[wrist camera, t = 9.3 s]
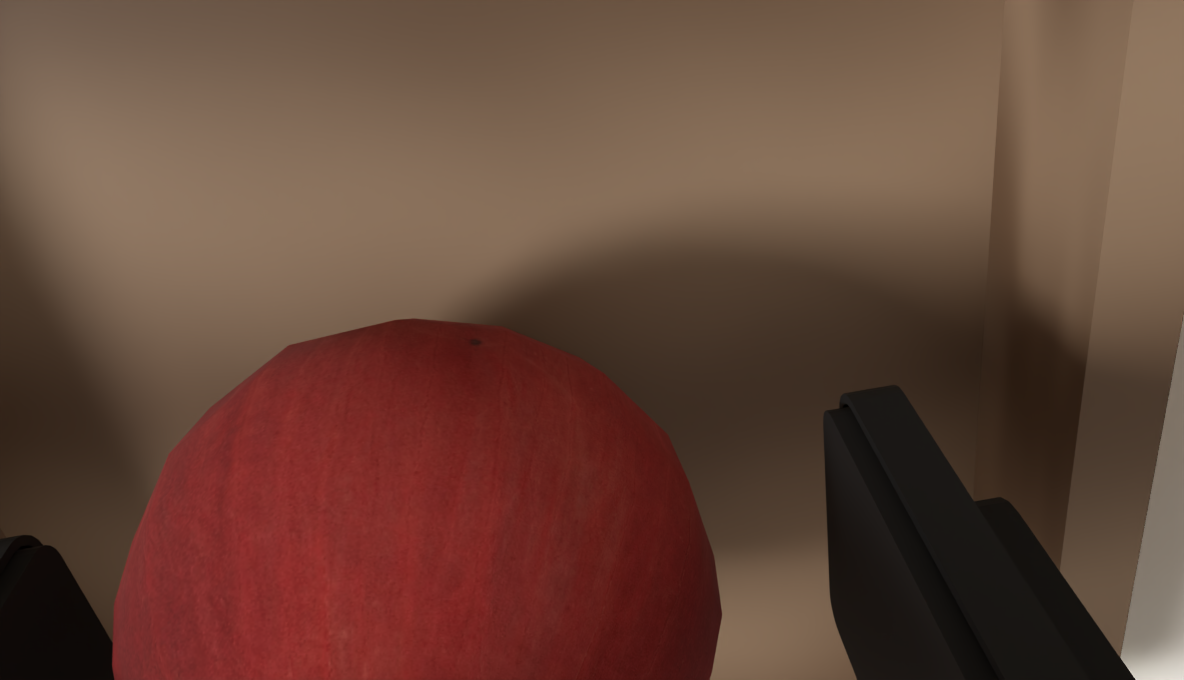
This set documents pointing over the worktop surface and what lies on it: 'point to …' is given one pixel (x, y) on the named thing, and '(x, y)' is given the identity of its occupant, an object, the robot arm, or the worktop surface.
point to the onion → (420, 523)
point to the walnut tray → (612, 245)
